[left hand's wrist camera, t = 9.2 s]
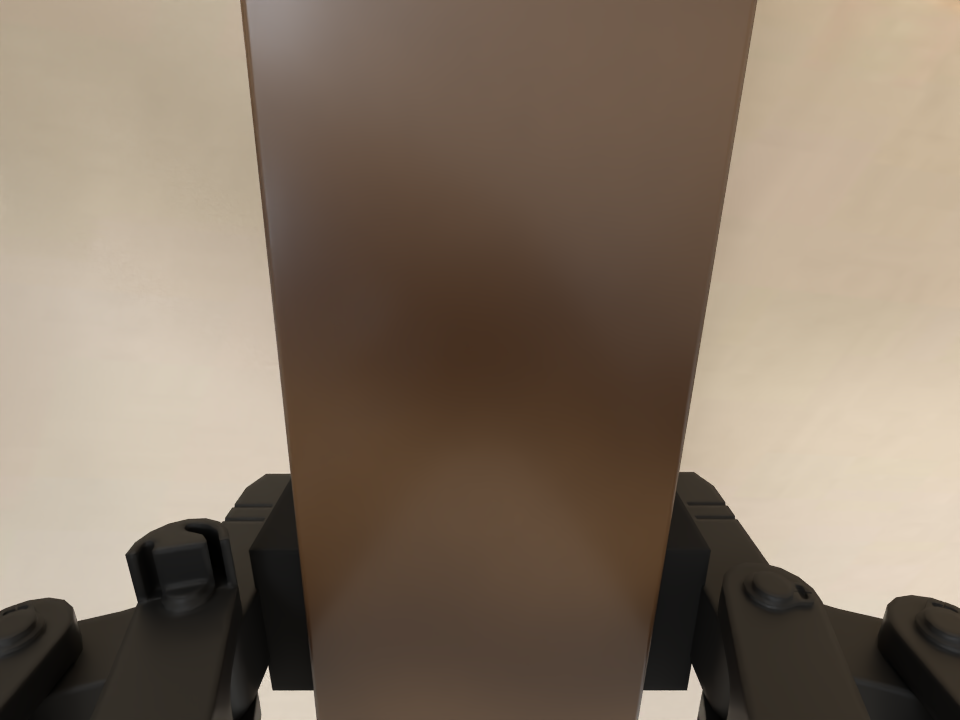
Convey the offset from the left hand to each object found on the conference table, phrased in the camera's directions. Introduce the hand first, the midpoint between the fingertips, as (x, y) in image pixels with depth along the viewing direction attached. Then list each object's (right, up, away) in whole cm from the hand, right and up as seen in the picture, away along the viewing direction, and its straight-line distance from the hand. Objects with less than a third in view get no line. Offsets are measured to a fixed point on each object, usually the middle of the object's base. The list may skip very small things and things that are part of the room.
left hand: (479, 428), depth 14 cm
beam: (+1, +31, -11) cm, 32 cm away
